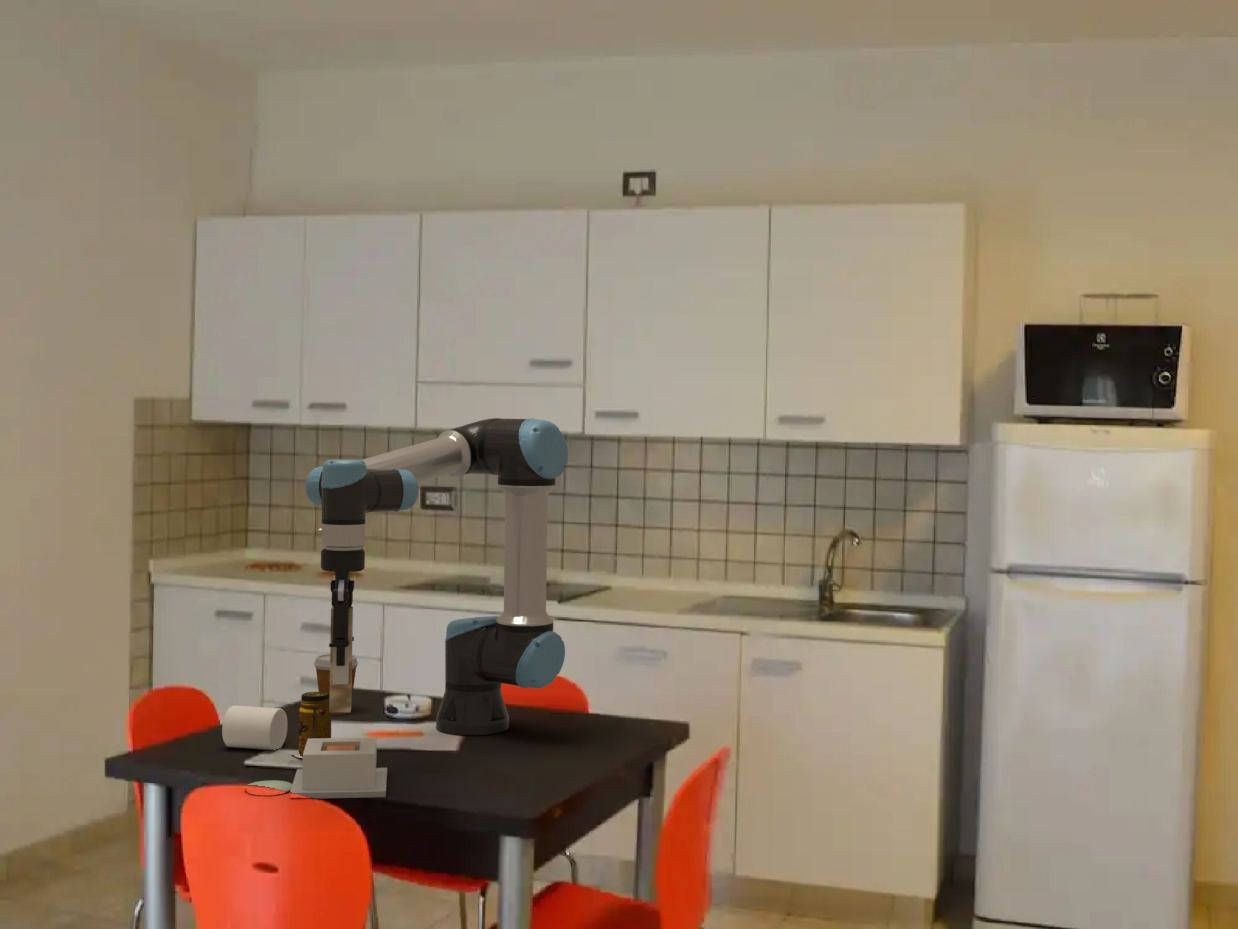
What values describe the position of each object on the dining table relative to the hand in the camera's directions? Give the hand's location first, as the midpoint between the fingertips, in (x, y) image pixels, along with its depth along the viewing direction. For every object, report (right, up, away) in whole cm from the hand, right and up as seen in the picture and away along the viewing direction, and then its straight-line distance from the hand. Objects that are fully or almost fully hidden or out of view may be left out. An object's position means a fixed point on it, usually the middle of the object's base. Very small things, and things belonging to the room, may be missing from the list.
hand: (341, 681), depth 246 cm
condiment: (-8, -18, +22) cm, 29 cm away
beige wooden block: (0, -5, 0) cm, 5 cm away
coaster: (-12, -18, -3) cm, 22 cm away
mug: (-22, -17, +29) cm, 40 cm away
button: (0, -15, +1) cm, 15 cm away
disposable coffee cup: (-13, -16, +60) cm, 64 cm away
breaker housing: (0, -18, +1) cm, 18 cm away
